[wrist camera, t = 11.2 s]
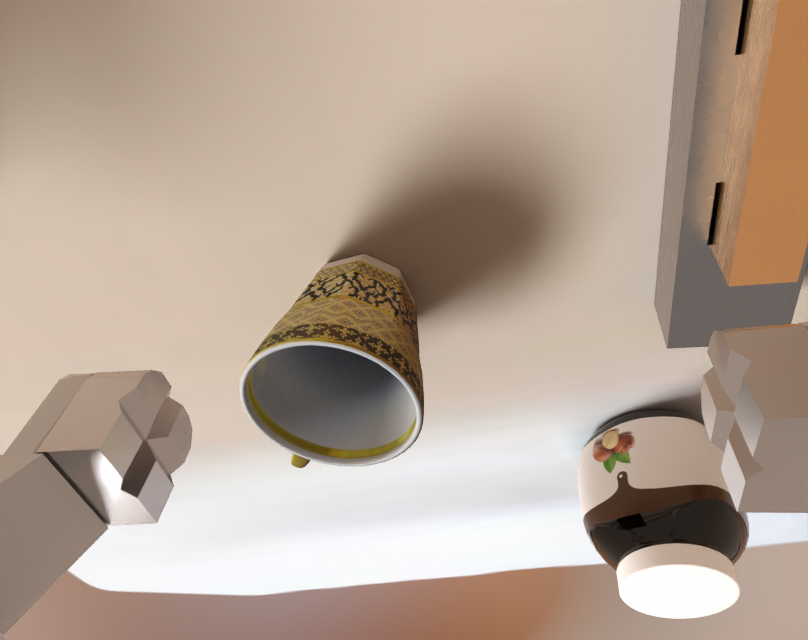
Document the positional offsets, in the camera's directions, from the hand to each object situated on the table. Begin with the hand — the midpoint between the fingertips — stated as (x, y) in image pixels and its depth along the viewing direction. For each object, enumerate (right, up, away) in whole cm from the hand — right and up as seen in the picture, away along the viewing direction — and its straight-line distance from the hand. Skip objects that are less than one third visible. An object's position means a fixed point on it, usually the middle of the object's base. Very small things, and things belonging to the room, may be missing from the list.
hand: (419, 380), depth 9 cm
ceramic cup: (-3, +2, +32) cm, 32 cm away
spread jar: (+18, -10, +38) cm, 43 cm away
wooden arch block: (+16, +12, +19) cm, 28 cm away
